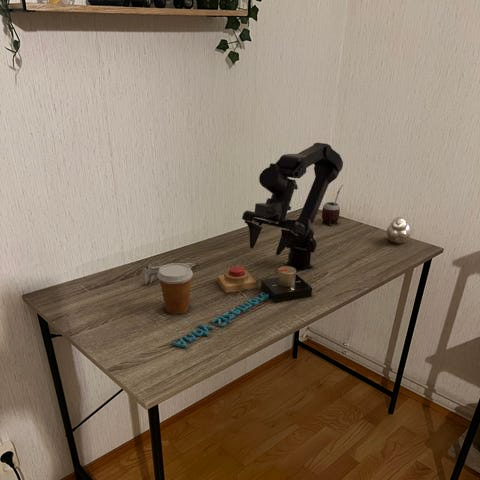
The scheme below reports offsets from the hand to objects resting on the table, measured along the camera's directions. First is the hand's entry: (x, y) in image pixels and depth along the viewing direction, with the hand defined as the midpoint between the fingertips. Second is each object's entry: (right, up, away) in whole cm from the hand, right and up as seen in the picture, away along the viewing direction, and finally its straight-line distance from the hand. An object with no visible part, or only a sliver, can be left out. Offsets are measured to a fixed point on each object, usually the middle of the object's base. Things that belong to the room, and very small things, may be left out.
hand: (263, 251), depth 142 cm
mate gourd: (+30, +20, +60) cm, 70 cm away
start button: (-8, -6, +8) cm, 13 cm away
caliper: (-29, -6, +16) cm, 33 cm away
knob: (+7, -9, +4) cm, 12 cm away
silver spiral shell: (+52, +9, +42) cm, 67 cm away
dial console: (+7, -12, +6) cm, 15 cm away
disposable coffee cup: (-25, -17, -3) cm, 30 cm away
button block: (-8, -9, +10) cm, 16 cm away
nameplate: (-11, -20, -8) cm, 24 cm away
